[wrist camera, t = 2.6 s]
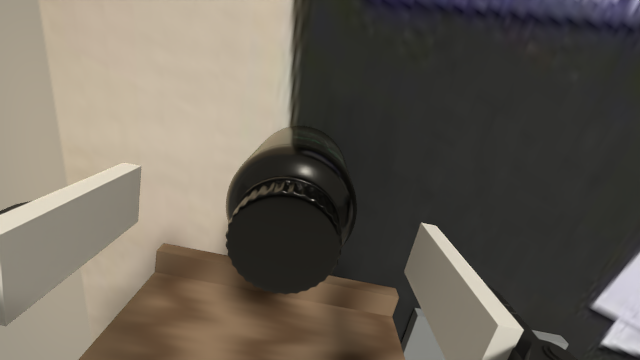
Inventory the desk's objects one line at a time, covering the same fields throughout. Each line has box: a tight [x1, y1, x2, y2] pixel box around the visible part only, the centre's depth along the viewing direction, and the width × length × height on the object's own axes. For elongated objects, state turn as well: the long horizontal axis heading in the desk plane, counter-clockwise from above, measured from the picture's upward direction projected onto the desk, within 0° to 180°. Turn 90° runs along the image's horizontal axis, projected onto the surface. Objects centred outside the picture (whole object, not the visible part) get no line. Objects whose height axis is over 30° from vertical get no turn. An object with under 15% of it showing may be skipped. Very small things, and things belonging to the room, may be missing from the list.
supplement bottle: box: [226, 126, 357, 295], centre depth 19 cm, size 7×7×12 cm
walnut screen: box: [79, 244, 405, 360], centre depth 22 cm, size 20×6×12 cm, turn 77°
